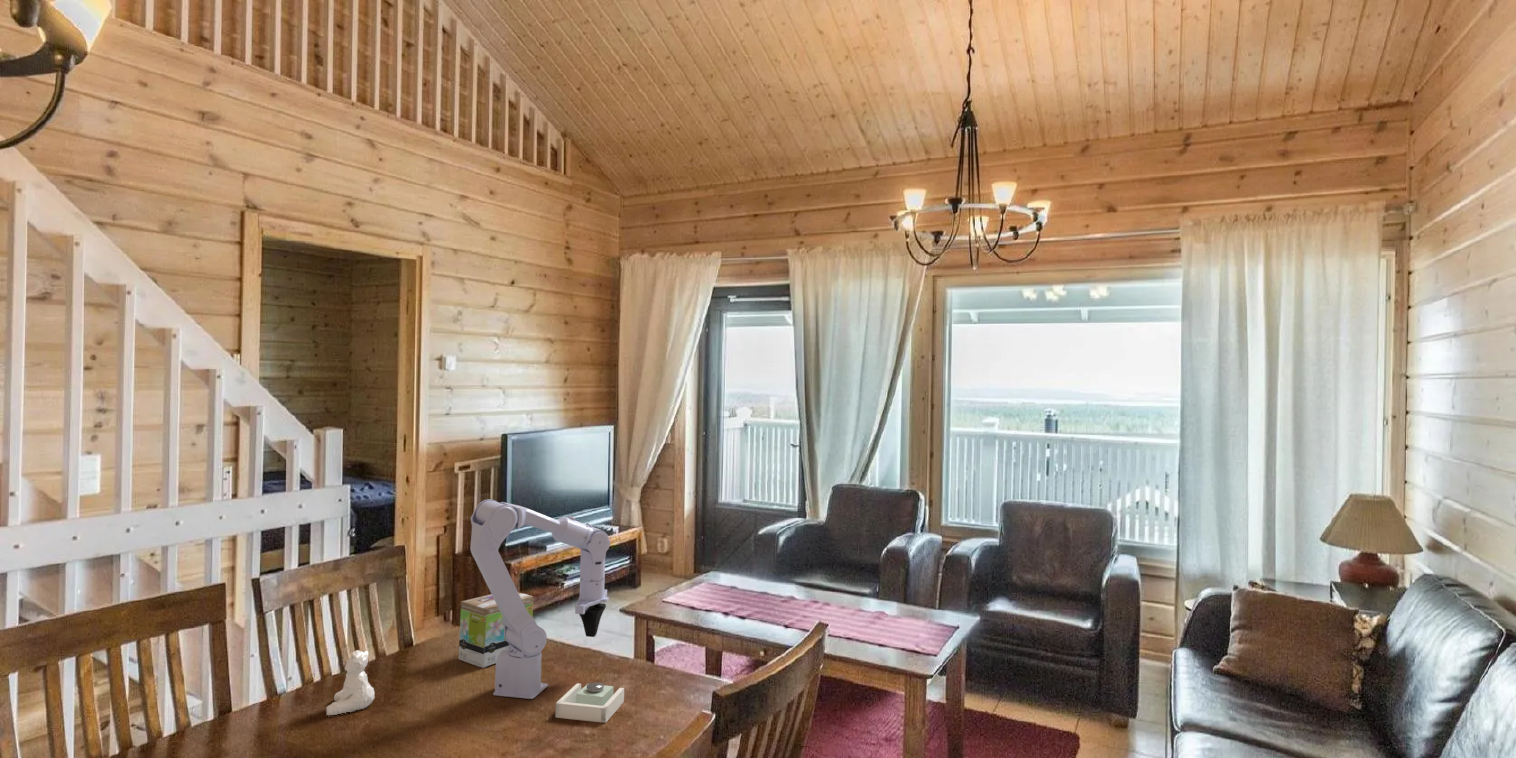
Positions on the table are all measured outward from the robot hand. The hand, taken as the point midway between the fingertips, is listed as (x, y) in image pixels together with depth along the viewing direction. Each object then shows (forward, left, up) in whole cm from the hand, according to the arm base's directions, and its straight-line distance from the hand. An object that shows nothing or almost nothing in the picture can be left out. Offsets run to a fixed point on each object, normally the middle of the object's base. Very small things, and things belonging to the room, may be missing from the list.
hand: (591, 635), depth 193 cm
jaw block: (+8, -16, -10) cm, 20 cm away
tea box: (-28, +6, -10) cm, 30 cm away
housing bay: (+8, -18, -9) cm, 21 cm away
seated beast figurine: (-42, -29, -10) cm, 51 cm away
